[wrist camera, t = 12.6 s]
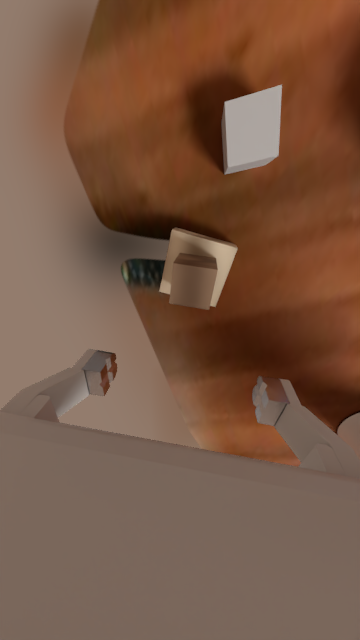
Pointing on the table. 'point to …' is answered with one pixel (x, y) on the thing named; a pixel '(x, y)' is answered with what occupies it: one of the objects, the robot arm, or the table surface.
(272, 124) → the grey painted cube
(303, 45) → the table surface
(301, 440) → the robot arm
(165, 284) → the beech pedestal block
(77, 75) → the table surface
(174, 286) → the walnut block
